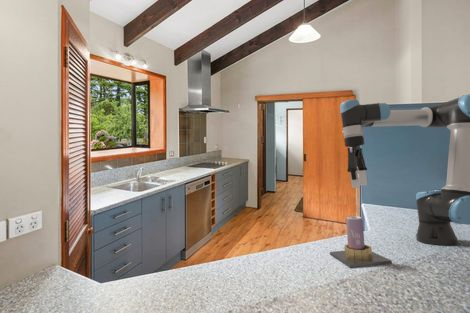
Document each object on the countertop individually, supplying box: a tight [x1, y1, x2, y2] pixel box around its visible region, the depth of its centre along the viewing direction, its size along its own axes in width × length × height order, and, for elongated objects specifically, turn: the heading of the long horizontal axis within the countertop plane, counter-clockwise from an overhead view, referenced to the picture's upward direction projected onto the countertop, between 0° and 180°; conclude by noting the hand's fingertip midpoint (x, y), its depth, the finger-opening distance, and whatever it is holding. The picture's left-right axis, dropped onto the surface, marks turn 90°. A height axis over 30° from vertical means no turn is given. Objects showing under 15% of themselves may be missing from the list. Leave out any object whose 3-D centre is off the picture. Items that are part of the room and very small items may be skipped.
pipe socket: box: [329, 243, 393, 269], centre depth 101 cm, size 16×16×5 cm
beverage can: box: [345, 215, 366, 250], centre depth 101 cm, size 6×6×15 cm
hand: (359, 186), depth 108 cm, fingers open, 13 cm apart
